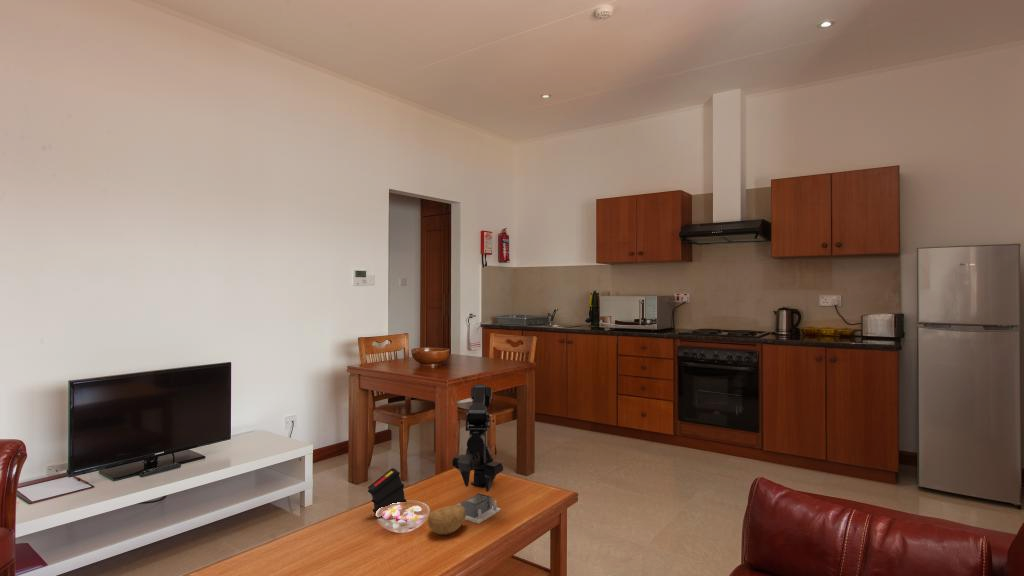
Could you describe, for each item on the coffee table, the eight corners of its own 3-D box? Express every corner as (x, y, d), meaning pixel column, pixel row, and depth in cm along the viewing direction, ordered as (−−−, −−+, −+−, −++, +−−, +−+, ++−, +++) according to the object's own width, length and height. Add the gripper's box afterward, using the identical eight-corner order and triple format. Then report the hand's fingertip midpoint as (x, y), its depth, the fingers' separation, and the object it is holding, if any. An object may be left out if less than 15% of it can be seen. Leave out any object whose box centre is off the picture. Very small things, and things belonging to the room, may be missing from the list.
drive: (478, 504, 192) (478, 492, 192) (492, 508, 188) (492, 496, 188) (461, 513, 183) (461, 501, 183) (474, 517, 180) (475, 505, 180)
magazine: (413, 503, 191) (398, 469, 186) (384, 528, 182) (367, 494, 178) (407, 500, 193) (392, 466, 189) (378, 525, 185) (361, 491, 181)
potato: (473, 530, 173) (474, 505, 173) (439, 544, 163) (439, 518, 163) (455, 520, 179) (455, 497, 180) (420, 534, 169) (421, 509, 170)
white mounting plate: (475, 503, 194) (475, 493, 194) (500, 510, 188) (500, 499, 188) (453, 515, 183) (453, 504, 183) (478, 523, 177) (478, 512, 177)
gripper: (442, 445, 184) (441, 490, 184) (484, 454, 174) (484, 502, 174) (462, 438, 194) (461, 481, 193) (504, 446, 183) (503, 491, 183)
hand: (477, 488), depth 186 cm, fingers open, 9 cm apart
